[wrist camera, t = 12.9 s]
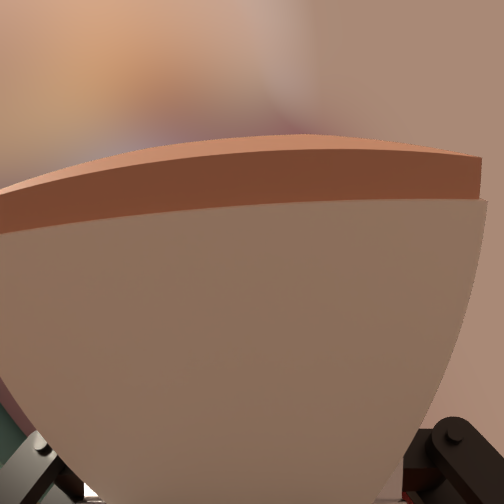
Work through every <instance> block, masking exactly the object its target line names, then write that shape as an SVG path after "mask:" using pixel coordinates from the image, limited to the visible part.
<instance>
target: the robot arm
mask: <svg viewBox="0 0 504 504" xmlns="http://www.w3.org/2000/svg"><path fill="white" fill-rule="evenodd" d="M52 482H53V483H54V485H53V487H52V488H51V489H50V491H49V492H48V493H47V495H46V496H45V497H44V499H43V500H42V501H41V503H40V504H106V503H105V502H104V501H103V500H102V499H101V498H100V497H99V496H98V495H96V494H95V493H94V492H93V491H92V490H91V489H90V488H89V487H88V486H87V485H86V484H85V483H84V482H83V481H82V480H81V479H80V478H79V477H78V476H77V475H76V474H75V473H74V472H73V471H72V470H71V469H70V468H69V467H68V466H67V465H66V464H65V463H64V461H63V460H62V459H61V458H60V457H59V456H58V455H57V454H56V453H55V451H54V450H53V449H52V448H51V447H50V446H49V444H48V443H47V442H46V441H45V440H44V438H43V437H42V436H41V435H40V433H39V432H38V431H37V430H36V431H34V432H33V433H31V434H30V435H29V436H28V438H27V439H26V440H25V441H24V442H23V443H22V445H21V446H20V447H19V448H18V449H17V450H16V451H15V453H14V454H13V455H12V456H11V457H10V458H9V460H8V461H7V462H6V463H5V464H4V466H3V467H2V468H1V469H0V504H37V502H38V501H39V499H40V498H41V497H42V495H43V494H44V493H45V492H46V490H47V489H48V488H49V486H50V485H51V484H52ZM402 492H406V493H407V494H408V496H409V497H410V498H411V500H412V501H413V502H414V504H504V458H503V457H502V456H501V455H500V454H499V453H498V452H497V451H496V449H495V448H494V447H493V446H492V445H491V444H490V443H489V442H488V441H487V440H486V439H485V438H484V437H483V436H482V435H481V434H480V433H479V432H478V431H477V430H476V429H475V428H474V427H473V426H472V425H471V424H470V423H469V422H468V421H466V420H465V419H463V418H460V417H447V418H444V419H442V420H440V421H439V422H438V423H437V424H436V425H435V426H434V428H433V429H418V431H417V433H416V435H415V436H414V438H413V440H412V442H411V444H410V445H409V447H408V449H407V451H406V452H405V454H404V456H403V457H402V459H401V461H400V462H399V464H398V466H397V467H396V469H395V470H394V472H393V474H392V475H391V477H390V478H389V480H388V481H387V483H386V484H385V486H384V487H383V489H382V490H381V492H380V493H379V494H378V496H377V497H376V499H375V500H374V501H373V503H372V504H407V503H406V501H405V500H403V499H402Z"/></svg>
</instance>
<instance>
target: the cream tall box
mask: <svg viewBox="0 0 504 504" xmlns="http://www.w3.org/2000/svg"><path fill="white" fill-rule="evenodd" d="M481 165H482V158H481V157H476V156H472V155H467V154H462V153H458V152H452V151H447V150H442V149H436V148H431V147H424V146H418V145H412V144H405V143H397V142H390V141H382V140H373V139H364V138H354V137H342V136H328V135H312V134H297V135H271V136H253V137H239V138H227V139H216V140H206V141H198V142H189V143H181V144H173V145H166V146H160V147H152V148H147V149H142V150H137V151H132V152H128V153H123V154H119V155H114V156H110V157H106V158H102V159H98V160H94V161H90V162H86V163H82V164H78V165H75V166H71V167H68V168H64V169H61V170H57V171H54V172H51V173H47V174H44V175H41V176H38V177H35V178H31V179H28V180H26V181H23V182H20V183H17V184H14V185H11V186H8V187H5V188H3V189H0V377H1V379H2V381H3V382H4V384H5V385H6V387H7V389H8V390H9V392H10V393H11V395H12V396H13V398H14V399H15V401H16V402H17V404H18V405H19V406H20V408H21V409H22V411H23V412H24V414H25V415H26V416H27V418H28V419H29V420H30V422H31V423H32V424H33V426H34V427H35V428H36V429H37V431H38V432H39V433H40V435H41V436H42V437H43V438H44V440H45V441H46V442H47V443H48V444H49V446H50V447H51V448H52V449H53V450H54V451H55V453H56V454H57V455H58V456H59V457H60V458H61V459H62V460H63V461H64V463H65V464H66V465H67V466H68V467H69V468H70V469H71V470H72V471H73V472H74V473H75V474H76V475H77V476H78V477H79V478H80V479H81V480H82V481H83V482H84V483H85V484H86V485H87V486H88V487H89V488H90V489H91V490H92V491H93V492H94V493H95V494H96V495H98V496H99V497H100V498H101V499H102V500H103V501H104V502H105V503H106V504H372V503H373V501H374V500H375V499H376V497H377V496H378V494H379V493H380V492H381V490H382V489H383V487H384V486H385V484H386V483H387V481H388V480H389V478H390V477H391V475H392V474H393V472H394V470H395V469H396V467H397V466H398V464H399V462H400V461H401V459H402V457H403V456H404V454H405V452H406V451H407V449H408V447H409V445H410V444H411V442H412V440H413V438H414V436H415V435H416V433H417V431H418V429H419V427H420V425H421V423H422V421H423V419H424V417H425V415H426V413H427V411H428V409H429V407H430V405H431V403H432V401H433V398H434V396H435V394H436V392H437V389H438V387H439V385H440V382H441V380H442V378H443V375H444V373H445V370H446V368H447V365H448V363H449V360H450V358H451V354H452V352H453V349H454V347H455V343H456V341H457V338H458V335H459V332H460V329H461V326H462V323H463V319H464V316H465V313H466V309H467V305H468V302H469V298H470V295H471V291H472V287H473V283H474V278H475V274H476V270H477V265H478V260H479V255H480V250H481V244H482V239H483V233H484V226H485V219H486V211H487V201H486V200H483V199H481V198H479V194H480V182H481Z"/></svg>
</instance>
